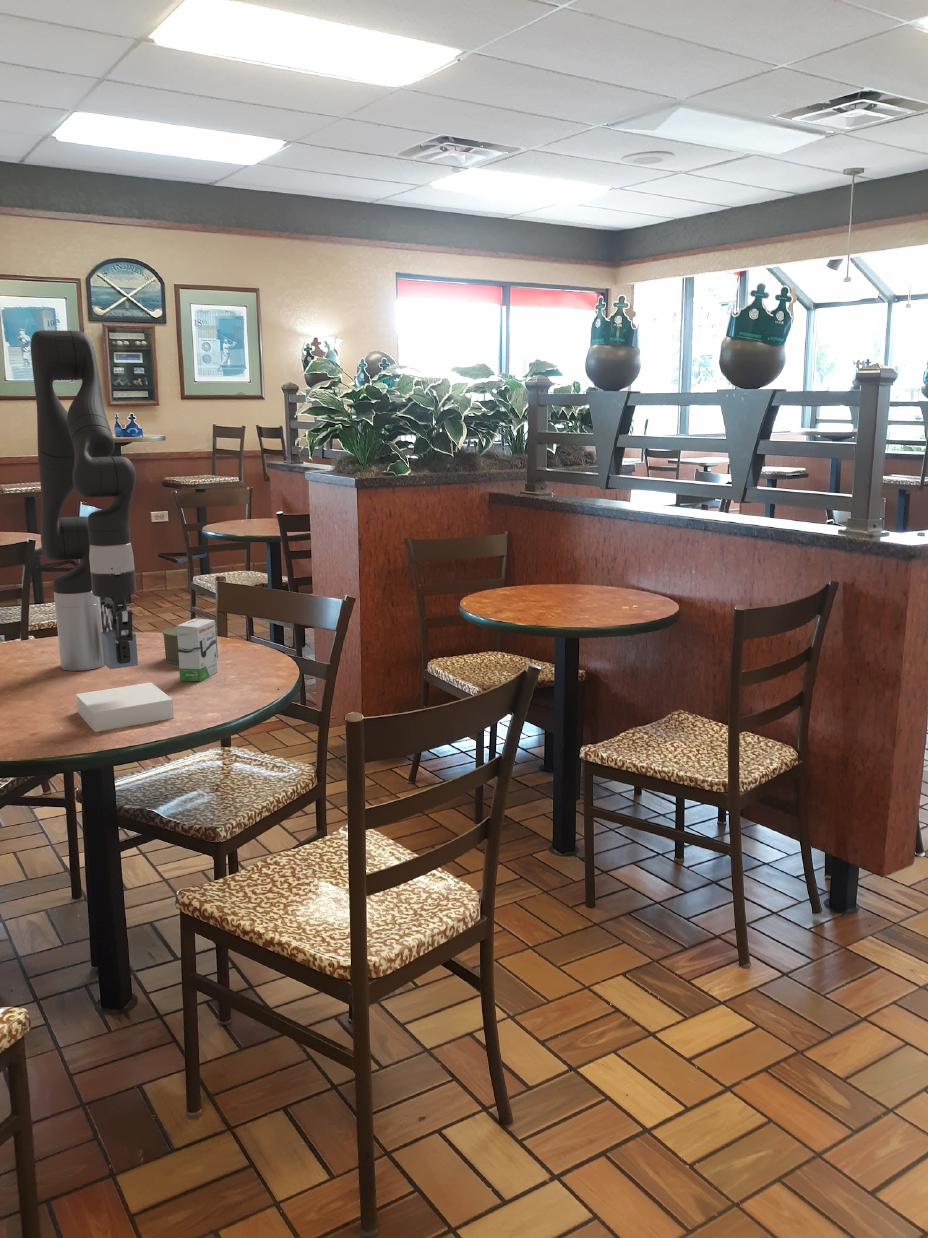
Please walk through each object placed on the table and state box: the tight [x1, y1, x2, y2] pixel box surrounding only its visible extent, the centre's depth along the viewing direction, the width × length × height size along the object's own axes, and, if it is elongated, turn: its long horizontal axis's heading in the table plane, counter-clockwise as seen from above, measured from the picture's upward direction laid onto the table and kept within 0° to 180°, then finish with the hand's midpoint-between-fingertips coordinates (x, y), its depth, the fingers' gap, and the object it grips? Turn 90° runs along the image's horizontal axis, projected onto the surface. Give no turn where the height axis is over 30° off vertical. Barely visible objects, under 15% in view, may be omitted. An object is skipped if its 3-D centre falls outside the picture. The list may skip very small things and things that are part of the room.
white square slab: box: [75, 681, 175, 733], centre depth 180 cm, size 14×14×4 cm
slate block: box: [101, 630, 139, 670], centre depth 177 cm, size 5×5×6 cm
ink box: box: [176, 618, 218, 682], centre depth 205 cm, size 9×5×12 cm, turn 168°
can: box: [162, 625, 219, 666], centre depth 221 cm, size 12×12×7 cm
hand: (120, 659), depth 178 cm, fingers closed on slate block, 5 cm apart
